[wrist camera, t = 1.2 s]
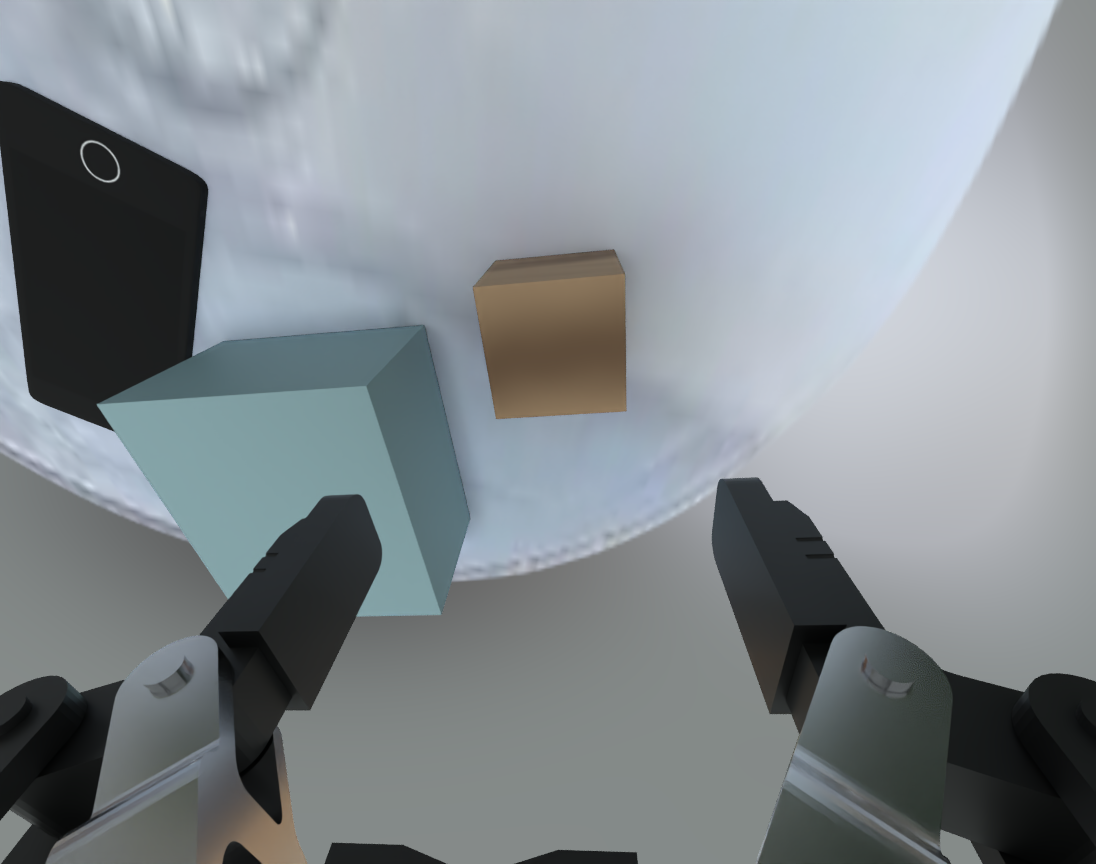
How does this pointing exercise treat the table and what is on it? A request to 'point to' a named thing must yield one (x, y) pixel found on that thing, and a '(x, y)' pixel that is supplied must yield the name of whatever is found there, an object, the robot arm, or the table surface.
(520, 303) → the walnut cube
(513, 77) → the table surface
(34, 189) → the cell phone
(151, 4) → the table surface
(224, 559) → the stand
